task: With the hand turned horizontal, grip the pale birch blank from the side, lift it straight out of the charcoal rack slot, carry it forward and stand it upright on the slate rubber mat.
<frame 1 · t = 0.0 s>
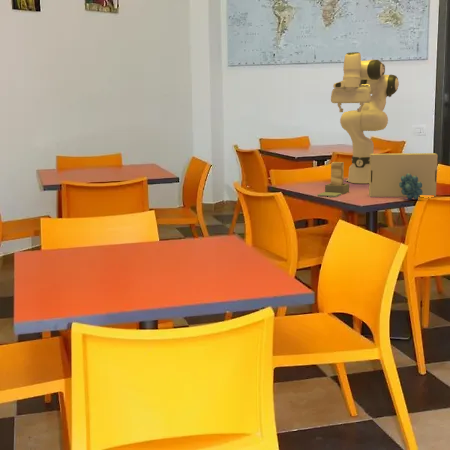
hand: (350, 112, 343), 39 cm above the table, tool pointing down, fingers open, 8 cm apart
blank: (337, 177, 334), in the rack
mat: (329, 195, 326), on the table
packaging: (401, 196, 321), on the table
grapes: (409, 200, 309), on the table
rack: (337, 192, 335), on the table
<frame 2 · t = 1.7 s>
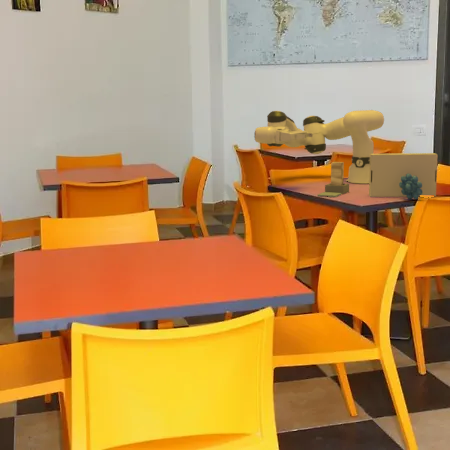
hand: (308, 135, 337), 28 cm above the table, tool horizontal, fingers open, 8 cm apart
nothing on the table moved.
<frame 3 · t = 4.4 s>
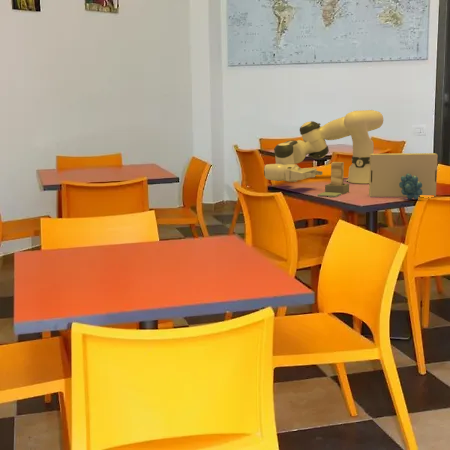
hand: (318, 174, 338), 9 cm above the table, tool horizontal, fingers open, 8 cm apart
nothing on the table moved.
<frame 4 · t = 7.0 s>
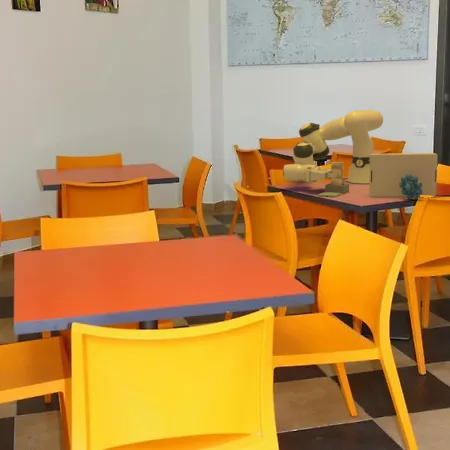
hand: (339, 174, 333), 9 cm above the table, tool horizontal, fingers closed on blank, 4 cm apart
blank: (337, 177, 334), in the rack, touching gripper
everything else where it was.
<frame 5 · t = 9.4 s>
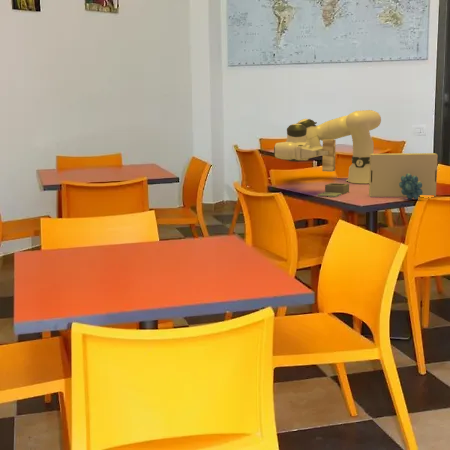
hand: (330, 152, 324), 21 cm above the table, tool horizontal, fingers closed on blank, 4 cm apart
blank: (328, 155, 325), point 19 cm above the table, touching gripper
everything else where it was.
when the fingers open (11 cm above the table, at t = 11.9 s): blank drops 1 cm, resting on mat.
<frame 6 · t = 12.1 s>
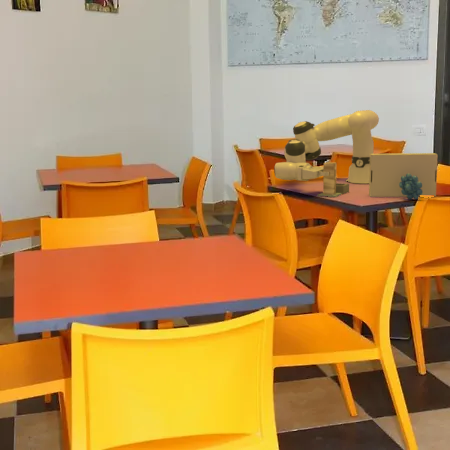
hand: (331, 173, 323), 11 cm above the table, tool horizontal, fingers open, 5 cm apart
blank: (329, 178, 325), on the mat, point 8 cm above the table
everything else where it was.
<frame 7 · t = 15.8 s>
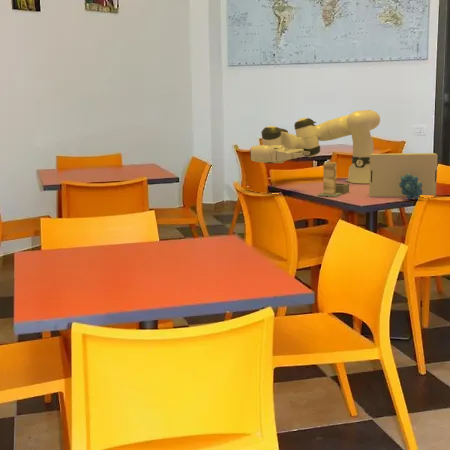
hand: (305, 154, 329), 19 cm above the table, tool horizontal, fingers open, 8 cm apart
nothing on the table moved.
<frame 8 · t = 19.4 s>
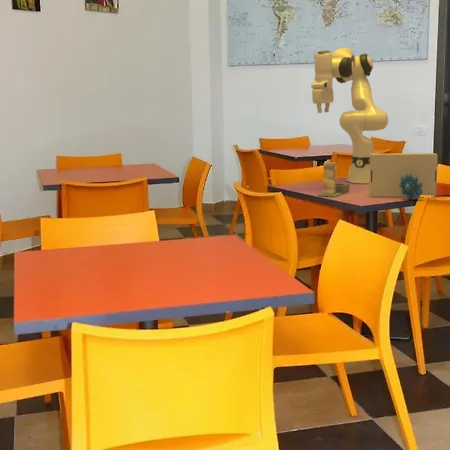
hand: (323, 112, 337), 39 cm above the table, tool pointing down, fingers open, 8 cm apart
nothing on the table moved.
at the end: blank 0.1 cm off-centre on the mat, point 8.3 cm above the mat's base; blank tilted 0°; the gripper is holding nothing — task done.
